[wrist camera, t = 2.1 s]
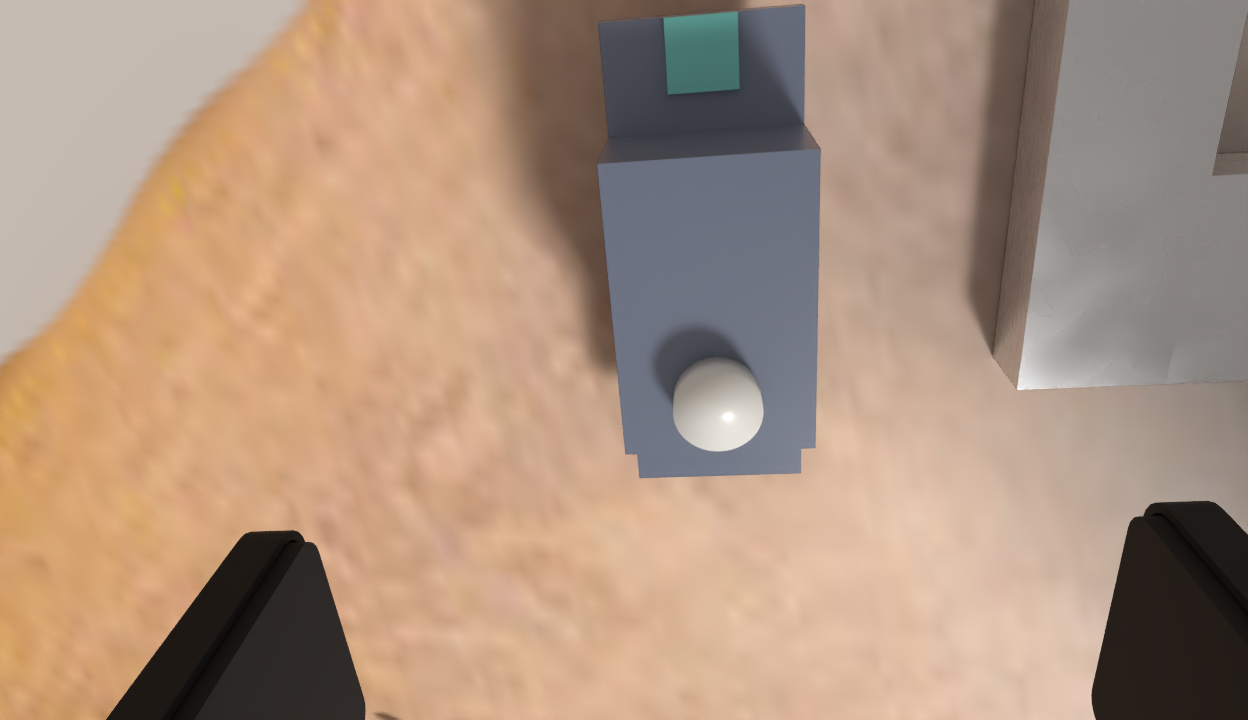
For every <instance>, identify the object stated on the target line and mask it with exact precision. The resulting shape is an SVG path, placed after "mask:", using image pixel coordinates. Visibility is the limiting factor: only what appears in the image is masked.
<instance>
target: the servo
mask: <svg viewBox="0 0 1248 720" xmlns="http://www.w3.org/2000/svg"><path fill="white" fill-rule="evenodd" d="M598 27H599V38H600V49H601V60H602V71H603V82H604V93H605V104H606V115H607V126H608V137H609V138H608V140H607V143H606V145H605V147H604V149H603V152H602V154H601V156H600V158H599V161H598V163H597V169H598V179H599V190H600V200H601V210H602V220H603V230H604V241H605V251H606V261H607V271H608V282H609V292H610V302H611V312H612V322H613V333H614V343H615V353H616V363H617V373H618V384H619V394H620V404H621V414H622V425H623V435H624V445H625V454H637V457H638V468H639V478H661V477H694V476H727V475H760V474H792V473H801V449H804V448H815V441H816V384H817V326H818V268H819V211H820V153H821V149H820V147H819V146H818V144H817V143H816V141H815V140H814V138H813V137H812V135H811V134H810V132H809V130H808V129H807V127H806V126H805V124H804V75H805V5H803V4H795V5H783V6H772V7H760V8H748V9H737V10H725V11H713V12H702V13H690V14H679V15H667V16H655V17H644V18H632V19H620V20H609V21H600V22H599V23H598Z"/></svg>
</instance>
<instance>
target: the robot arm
mask: <svg viewBox="0 0 1248 720" xmlns="http://www.w3.org/2000/svg"><path fill="white" fill-rule="evenodd" d="M1092 706H1093V712H1094V715H1095V718H1096V720H1248V535H1247V534H1246V532H1245V531H1244V530H1243V529H1242V528H1241V527H1240V526H1239V525H1238V524H1237V523H1236V522H1235V521H1234V520H1233V519H1232V518H1231V517H1230V516H1229V515H1228V514H1227V513H1226V512H1225V511H1224V510H1223V509H1222V508H1221V507H1220V506H1218V505H1217V504H1216V503H1214V502H1210V501H1191V502H1160V503H1154V504H1150V506H1149V507H1148V508H1147V509H1146V510H1145V513H1144V516H1140V517H1135V518H1133V519H1132V520H1131V522H1130V524H1129V527H1128V531H1127V535H1126V540H1125V544H1124V549H1123V553H1122V558H1121V562H1120V567H1119V571H1118V576H1117V580H1116V584H1115V589H1114V593H1113V598H1112V602H1111V607H1110V611H1109V616H1108V620H1107V625H1106V629H1105V634H1104V638H1103V643H1102V647H1101V652H1100V656H1099V661H1098V665H1097V670H1096V674H1095V679H1094V683H1093V688H1092ZM106 720H365V701H364V697H363V693H362V690H361V687H360V684H359V681H358V677H357V674H356V671H355V668H354V664H353V661H352V658H351V655H350V651H349V648H348V645H347V642H346V638H345V635H344V632H343V629H342V625H341V622H340V619H339V616H338V612H337V609H336V606H335V603H334V599H333V596H332V593H331V590H330V586H329V583H328V580H327V577H326V573H325V570H324V567H323V564H322V560H321V557H320V554H319V551H318V549H317V547H316V545H315V544H314V543H311V542H305V540H304V538H303V536H302V535H301V534H300V533H299V532H297V531H293V530H291V531H260V532H249V533H246V534H244V535H243V536H242V537H241V538H240V539H239V541H238V542H237V543H236V545H235V546H234V547H233V549H232V550H231V551H230V553H229V554H228V556H227V557H226V558H225V560H224V561H223V562H222V564H221V565H220V566H219V568H218V569H217V570H216V572H215V573H214V574H213V576H212V577H211V578H210V580H209V581H208V583H207V584H206V585H205V587H204V588H203V589H202V591H201V592H200V593H199V595H198V596H197V597H196V599H195V600H194V601H193V603H192V604H191V605H190V607H189V608H188V610H187V611H186V612H185V614H184V615H183V616H182V618H181V619H180V620H179V622H178V623H177V624H176V626H175V627H174V628H173V630H172V631H171V632H170V634H169V635H168V637H167V638H166V639H165V641H164V642H163V643H162V645H161V646H160V647H159V649H158V650H157V651H156V653H155V654H154V655H153V657H152V658H151V659H150V661H149V662H148V664H147V665H146V666H145V668H144V669H143V670H142V672H141V673H140V674H139V676H138V677H137V678H136V680H135V681H134V682H133V684H132V685H131V686H130V688H129V689H128V691H127V692H126V693H125V695H124V696H123V697H122V699H121V700H120V701H119V703H118V704H117V705H116V707H115V708H114V709H113V711H112V712H111V714H110V715H109V716H108V718H107V719H106Z"/></svg>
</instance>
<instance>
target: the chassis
mask: <svg viewBox="0 0 1248 720" xmlns="http://www.w3.org/2000/svg"><path fill="white" fill-rule="evenodd" d="M1247 13H1248V0H1035V4H1034V13H1033V21H1032V30H1031V38H1030V47H1029V55H1028V64H1027V72H1026V81H1025V89H1024V98H1023V106H1022V115H1021V123H1020V131H1019V140H1018V148H1017V157H1016V165H1015V174H1014V182H1013V191H1012V199H1011V208H1010V216H1009V225H1008V233H1007V242H1006V250H1005V259H1004V267H1003V276H1002V284H1001V293H1000V301H999V310H998V318H997V326H996V335H995V343H994V352H993V358H994V360H995V361H996V362H997V364H998V365H999V366H1000V368H1001V369H1002V370H1003V372H1004V373H1005V374H1006V376H1007V377H1008V378H1009V380H1010V381H1011V382H1012V384H1013V385H1014V386H1015V388H1016V389H1017V390H1028V389H1053V388H1079V387H1104V386H1130V385H1156V384H1181V383H1207V382H1232V381H1248V152H1243V153H1227V154H1217V149H1218V145H1219V140H1220V136H1221V131H1222V127H1223V122H1224V118H1225V113H1226V109H1227V104H1228V99H1229V95H1230V90H1231V86H1232V81H1233V77H1234V72H1235V68H1236V63H1237V59H1238V54H1239V50H1240V45H1241V40H1242V36H1243V31H1244V27H1245V22H1246V18H1247Z"/></svg>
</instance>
